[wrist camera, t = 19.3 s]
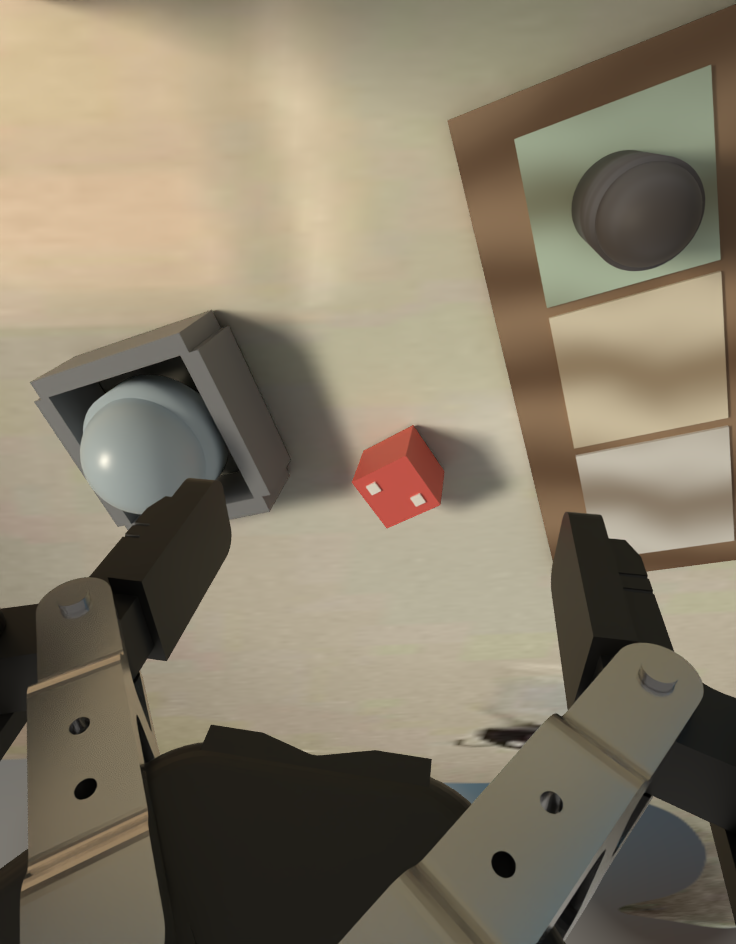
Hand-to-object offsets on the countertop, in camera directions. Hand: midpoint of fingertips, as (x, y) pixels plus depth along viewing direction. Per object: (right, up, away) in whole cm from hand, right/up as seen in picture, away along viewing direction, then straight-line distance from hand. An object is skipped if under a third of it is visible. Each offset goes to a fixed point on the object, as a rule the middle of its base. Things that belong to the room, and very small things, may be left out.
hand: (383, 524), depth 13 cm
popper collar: (-13, +5, +26) cm, 30 cm away
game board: (+15, +7, +19) cm, 25 cm away
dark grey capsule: (+12, +14, +14) cm, 23 cm away
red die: (+2, +2, +25) cm, 25 cm away
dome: (-14, +4, +25) cm, 29 cm away
